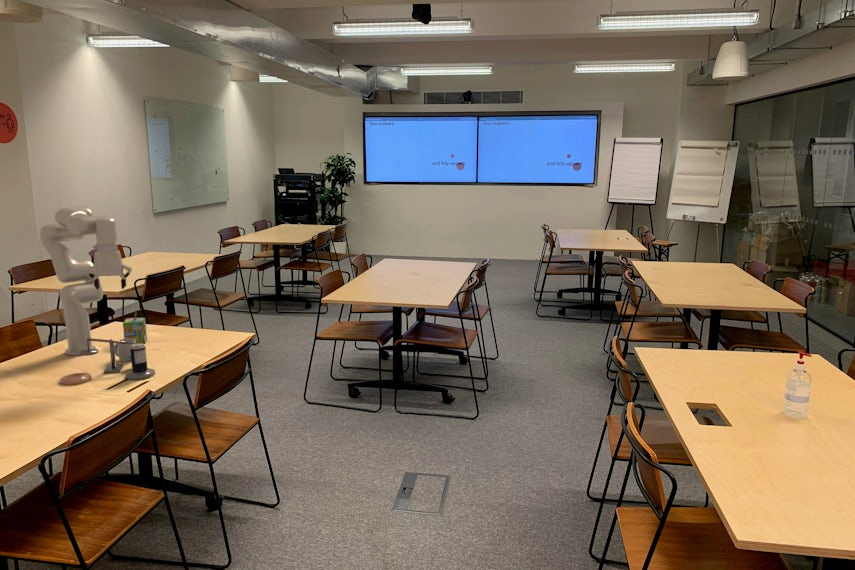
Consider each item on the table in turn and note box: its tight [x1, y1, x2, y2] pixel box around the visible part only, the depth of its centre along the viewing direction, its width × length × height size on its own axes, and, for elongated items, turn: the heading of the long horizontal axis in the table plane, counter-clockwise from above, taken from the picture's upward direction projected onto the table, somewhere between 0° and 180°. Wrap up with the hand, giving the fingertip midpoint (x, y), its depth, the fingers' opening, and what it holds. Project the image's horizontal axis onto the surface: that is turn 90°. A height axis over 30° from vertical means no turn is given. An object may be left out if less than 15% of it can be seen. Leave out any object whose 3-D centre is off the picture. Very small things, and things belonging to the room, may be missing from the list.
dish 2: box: [125, 367, 156, 381], centre depth 255 cm, size 11×11×1 cm
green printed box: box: [122, 313, 148, 345], centre depth 297 cm, size 9×9×15 cm
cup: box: [114, 338, 136, 363], centre depth 273 cm, size 7×10×9 cm
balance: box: [78, 337, 135, 374], centre depth 260 cm, size 8×25×15 cm, turn 105°
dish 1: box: [59, 372, 93, 386], centre depth 249 cm, size 11×11×1 cm
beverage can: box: [130, 343, 148, 374], centre depth 254 cm, size 6×6×12 cm
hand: (110, 288), depth 258 cm, fingers open, 9 cm apart
